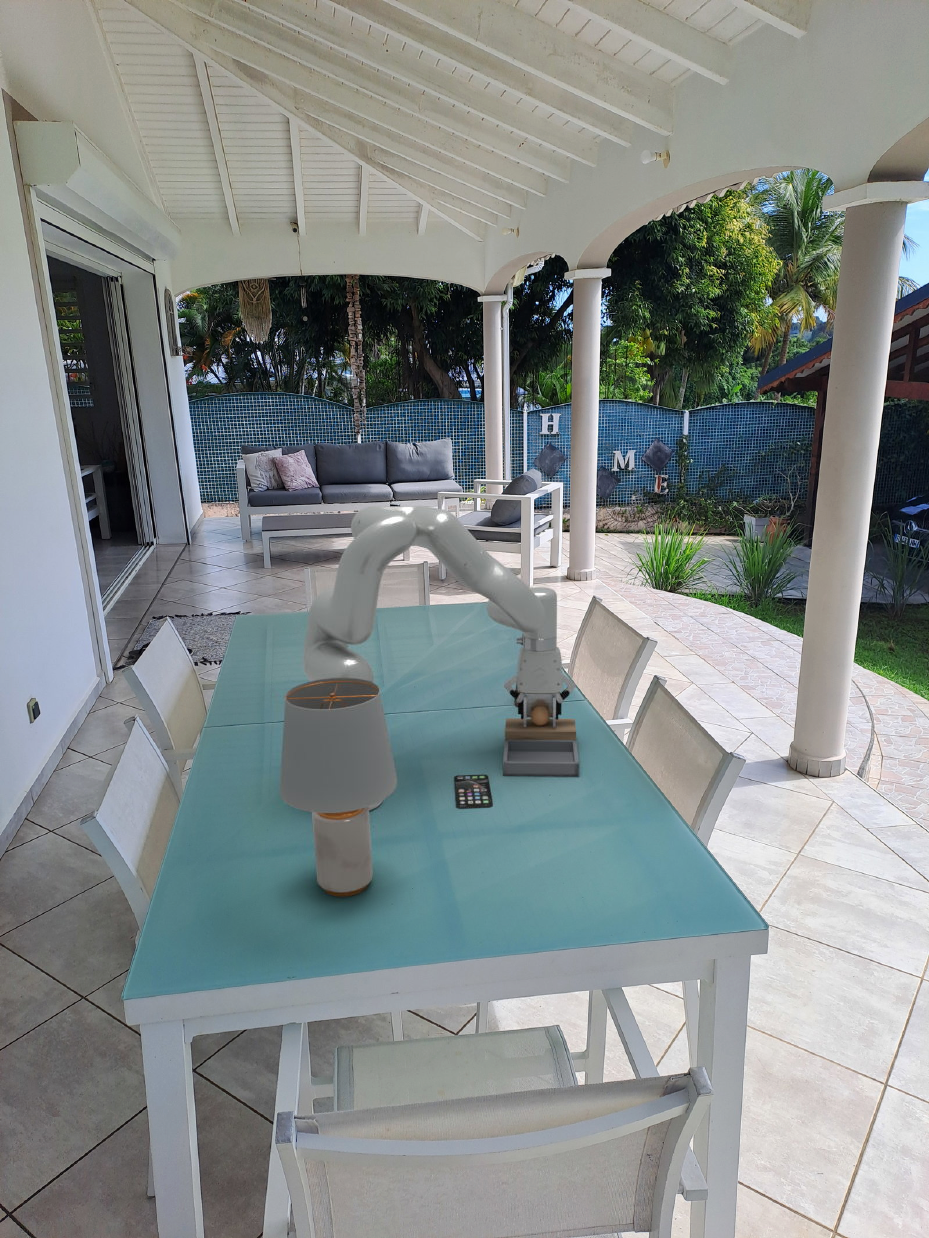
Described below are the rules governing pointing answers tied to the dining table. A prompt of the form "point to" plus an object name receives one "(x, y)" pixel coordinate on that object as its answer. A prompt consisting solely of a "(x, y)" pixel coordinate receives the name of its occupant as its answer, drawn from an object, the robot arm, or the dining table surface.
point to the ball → (540, 715)
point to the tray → (541, 758)
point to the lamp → (337, 773)
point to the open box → (540, 700)
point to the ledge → (540, 730)
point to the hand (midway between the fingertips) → (539, 716)
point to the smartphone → (472, 791)
